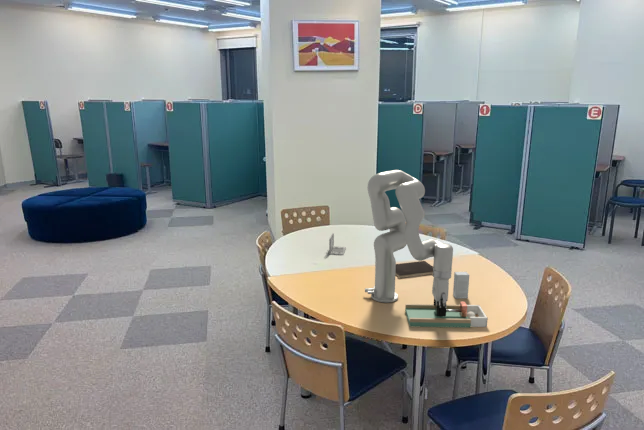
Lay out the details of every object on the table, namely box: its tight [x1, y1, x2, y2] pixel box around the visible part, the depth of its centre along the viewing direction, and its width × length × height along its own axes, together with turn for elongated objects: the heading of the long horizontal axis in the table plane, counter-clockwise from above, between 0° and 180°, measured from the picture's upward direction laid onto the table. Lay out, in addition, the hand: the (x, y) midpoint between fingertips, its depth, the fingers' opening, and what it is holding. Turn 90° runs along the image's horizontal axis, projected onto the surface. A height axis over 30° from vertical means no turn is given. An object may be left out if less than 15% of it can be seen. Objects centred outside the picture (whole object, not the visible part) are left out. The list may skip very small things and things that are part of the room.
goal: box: [466, 304, 489, 328], centre depth 198 cm, size 7×12×4 cm, turn 178°
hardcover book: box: [395, 260, 433, 279], centre depth 253 cm, size 16×23×2 cm
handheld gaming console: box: [328, 232, 347, 256], centre depth 283 cm, size 13×9×10 cm
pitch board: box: [404, 303, 472, 329], centre depth 199 cm, size 25×14×4 cm, turn 87°
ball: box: [467, 312, 476, 319], centre depth 198 cm, size 4×4×4 cm
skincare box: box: [452, 271, 470, 299], centre depth 219 cm, size 6×4×12 cm
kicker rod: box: [435, 299, 468, 317], centre depth 197 cm, size 12×4×7 cm, turn 87°
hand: (439, 310), depth 198 cm, fingers open, 9 cm apart
